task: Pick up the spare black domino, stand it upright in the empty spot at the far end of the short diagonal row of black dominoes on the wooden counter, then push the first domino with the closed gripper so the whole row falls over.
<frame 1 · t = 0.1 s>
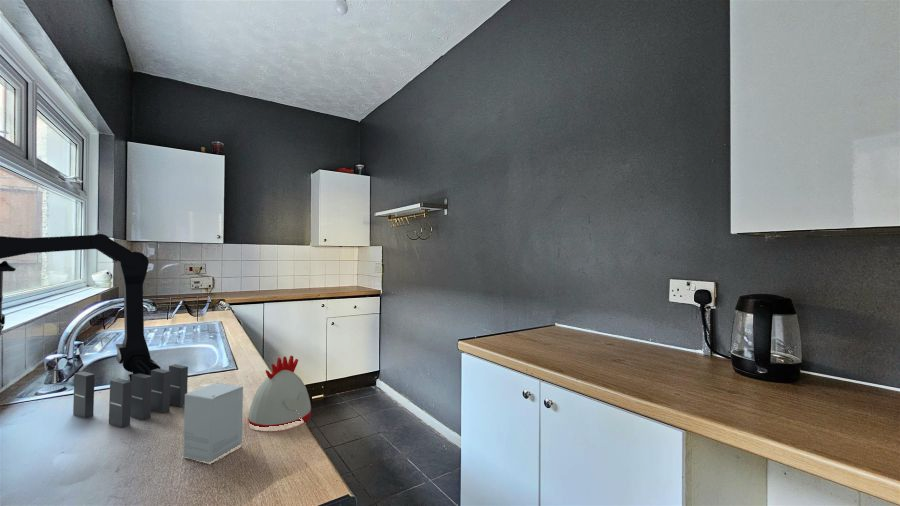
supplement box: (213, 453, 74), on the counter
domino 4: (119, 424, 84), on the counter
grey chicken figure: (280, 419, 89), on the counter
domino 1: (177, 404, 96), on the counter
domino 2: (159, 410, 92), on the counter
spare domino: (83, 415, 89), on the counter
domino 3: (140, 417, 88), on the counter
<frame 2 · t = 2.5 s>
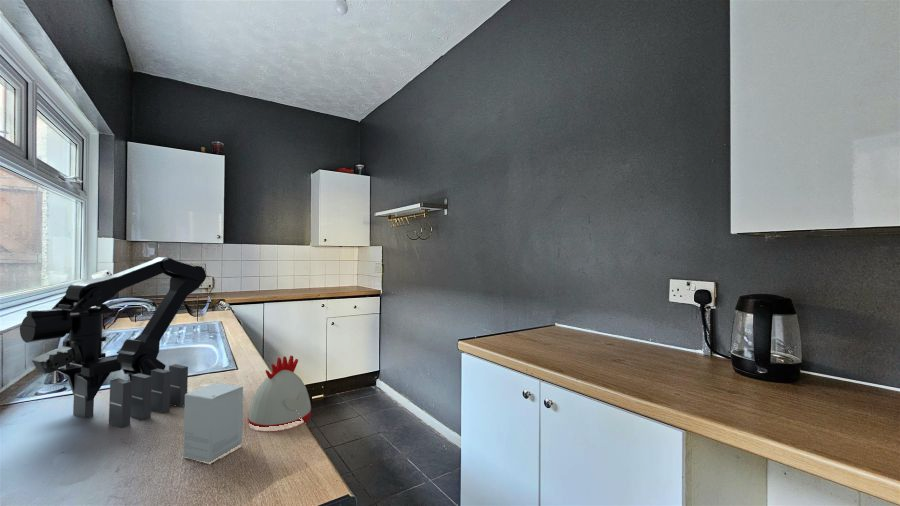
hand: (83, 398, 89), 4 cm above the counter, tool pointing down, fingers closed on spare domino, 5 cm apart
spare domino: (83, 415, 89), on the counter, touching gripper
everything else where it was.
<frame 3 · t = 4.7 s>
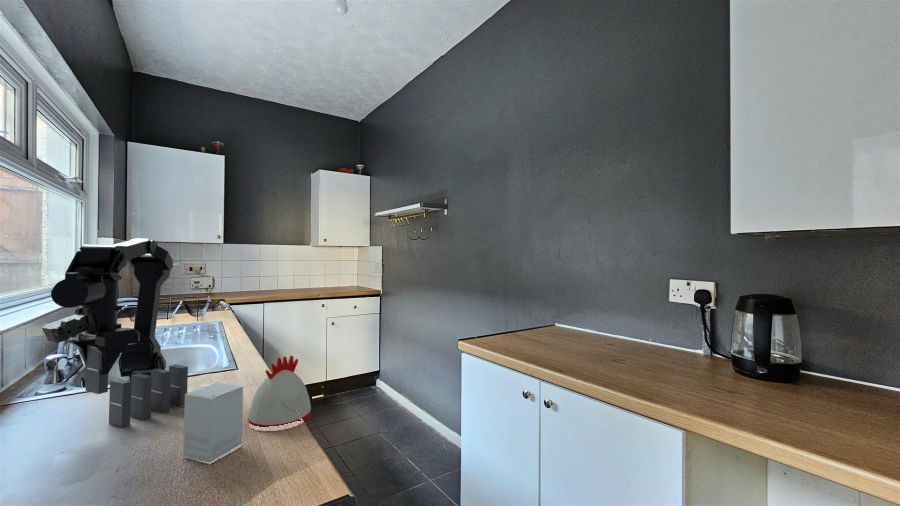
hand: (97, 372, 81), 13 cm above the counter, tool pointing down, fingers closed on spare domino, 5 cm apart
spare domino: (96, 391, 81), point 9 cm above the counter, touching gripper
everything else where it was.
when the fingers open (5 cm above the counter, at t = 6.9 s): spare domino drops 1 cm, on the counter.
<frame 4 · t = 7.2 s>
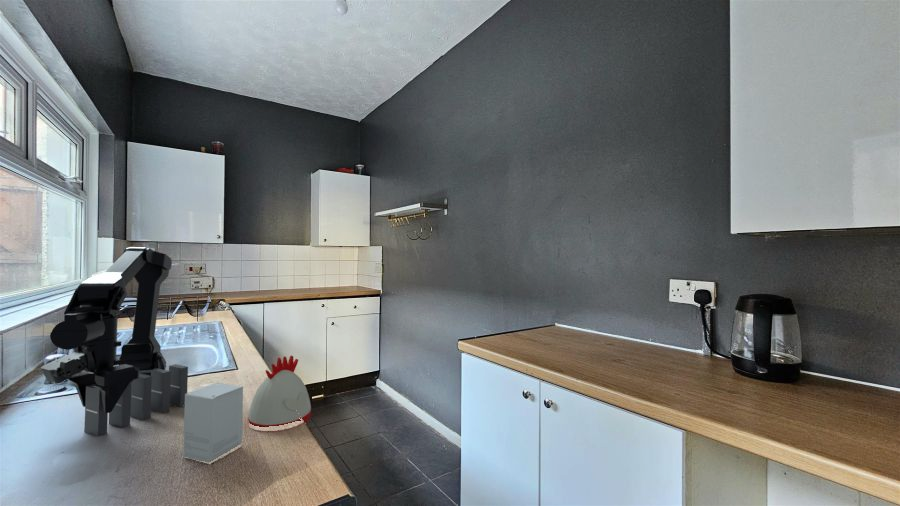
hand: (97, 409, 81), 5 cm above the counter, tool pointing down, fingers open, 8 cm apart
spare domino: (95, 432, 80), on the counter
everything else where it was.
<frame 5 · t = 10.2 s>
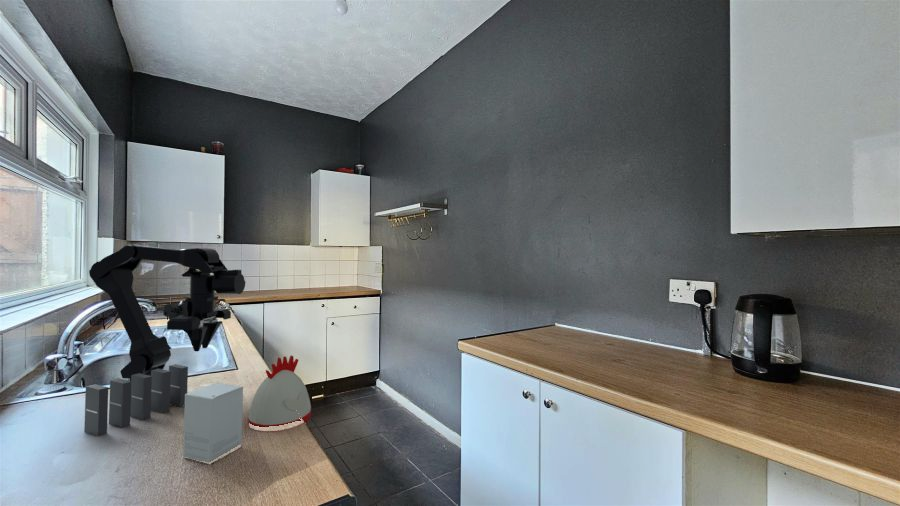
hand: (200, 349, 102), 13 cm above the counter, tool pointing down, fingers open, 3 cm apart
nothing on the counter moved.
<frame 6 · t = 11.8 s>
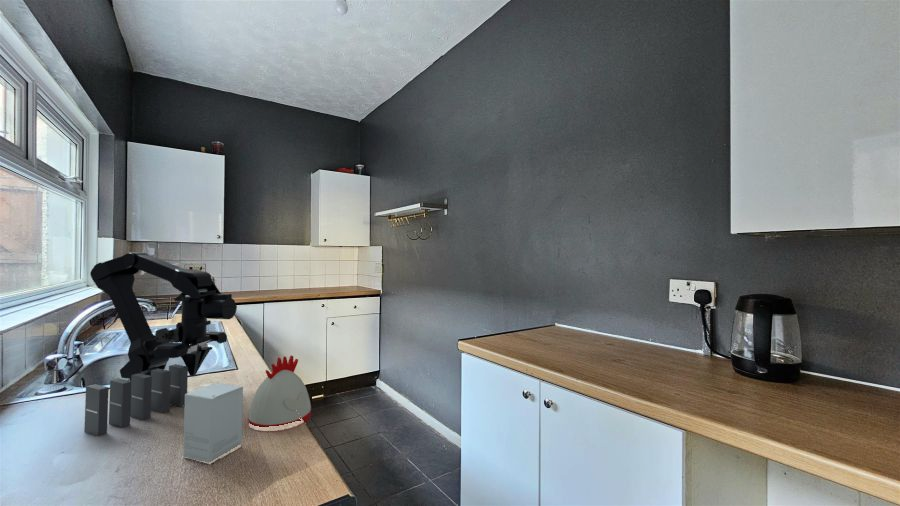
hand: (192, 375, 100), 6 cm above the counter, tool pointing down, fingers closed
nothing on the counter moved.
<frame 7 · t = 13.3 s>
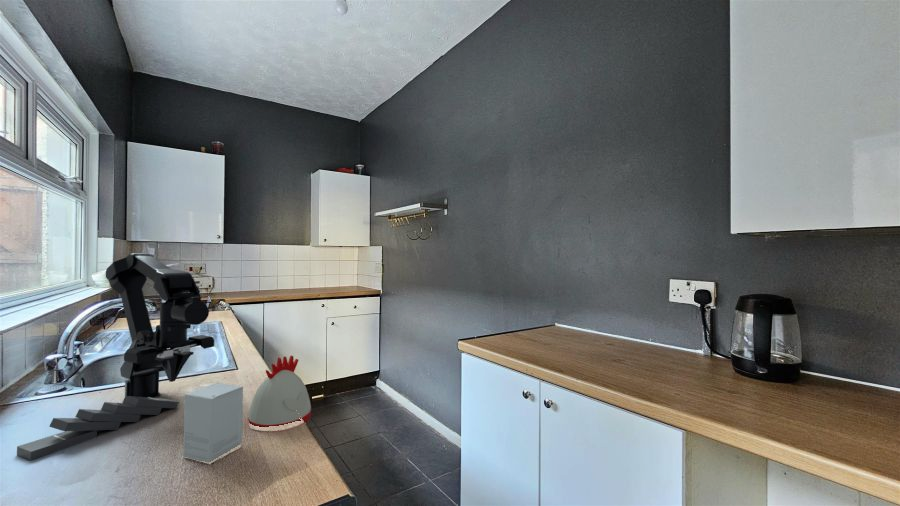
hand: (171, 381, 95), 6 cm above the counter, tool pointing down, fingers closed
domino 4: (112, 423, 83), point 1 cm above the counter, tilted 68°, touching domino 3, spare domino
domino 1: (171, 403, 95), point 1 cm above the counter, tilted 67°, touching domino 2
domino 2: (153, 409, 91), point 1 cm above the counter, tilted 67°, touching domino 1, domino 3
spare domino: (90, 431, 79), point 1 cm above the counter, tilted 89°, touching domino 4
domino 3: (132, 416, 87), point 1 cm above the counter, tilted 66°, touching domino 2, domino 4
everything else where it was.
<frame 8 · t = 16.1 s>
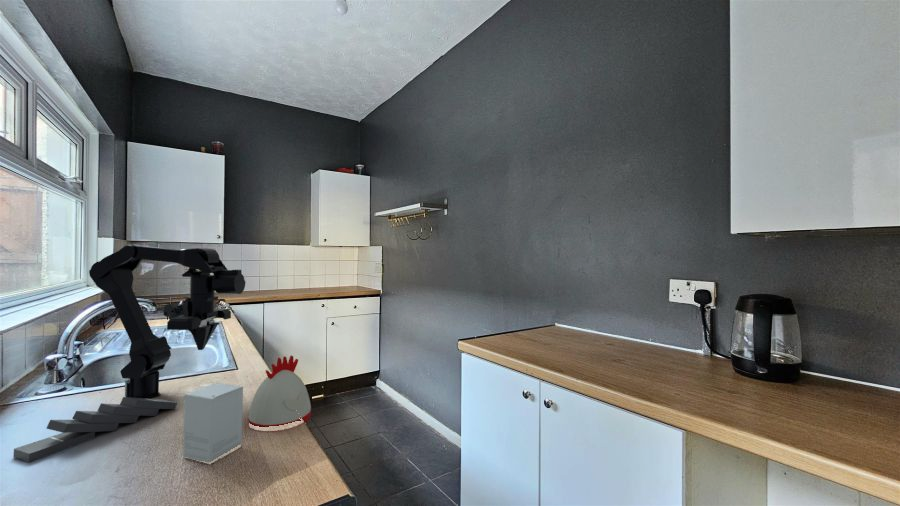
hand: (200, 349, 102), 13 cm above the counter, tool pointing down, fingers closed
domino 4: (109, 425, 82), point 1 cm above the counter, tilted 68°, touching domino 3
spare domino: (87, 432, 79), point 1 cm above the counter, tilted 89°
at the end: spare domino tilted 89°; domino 1 tilted 67°; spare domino inside the target area (0.2 cm from its centre), point 0.7 cm above the counter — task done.
